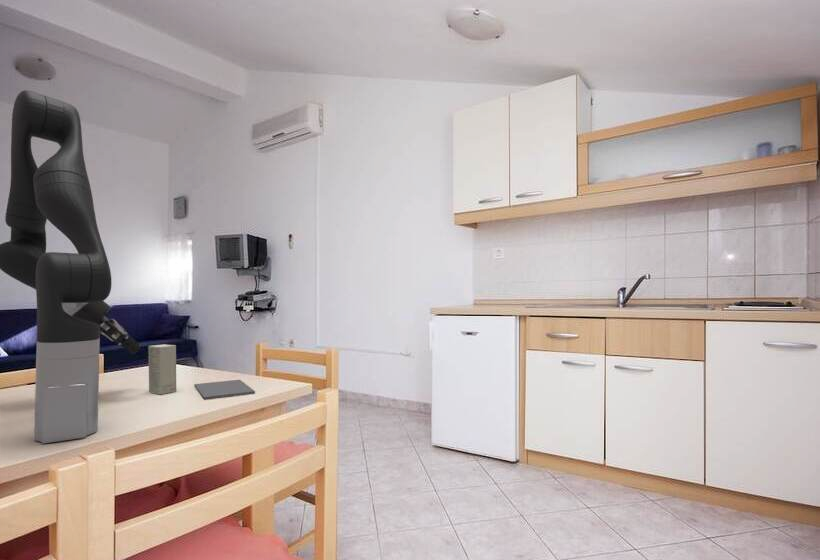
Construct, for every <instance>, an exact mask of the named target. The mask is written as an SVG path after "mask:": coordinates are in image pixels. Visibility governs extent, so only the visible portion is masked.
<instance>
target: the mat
mask: <svg viewBox="0 0 820 560" xmlns="http://www.w3.org/2000/svg"><path fill="white" fill-rule="evenodd" d="M193 385H194V388H195V389H196V390H197V392H198V394H199V395H200V396H201V397H202V399H203V400H204V401H205V400H212V399H213V400H214V399H222V398H230V397H231V398H232V397H236V396H237V397H238V396H245V395H255V394H256V391H255V390H254V389H253V388H252V387H250V386H249V385H248V384H246V383H245V382H243V380H241V379H231V380H224V381H223V380H222V381H214V382H202V383H195V384H193Z"/></svg>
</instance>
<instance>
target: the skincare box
mask: <svg viewBox="0 0 820 560" xmlns="http://www.w3.org/2000/svg"><path fill="white" fill-rule="evenodd" d="M148 392H149V393H152V394H157V395H166V394H171V393H174V392H175V393H176V392H177V345H176V344H166V343H164V344H155V345H148Z"/></svg>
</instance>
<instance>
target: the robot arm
mask: <svg viewBox="0 0 820 560" xmlns="http://www.w3.org/2000/svg"><path fill="white" fill-rule="evenodd" d="M11 115H12V116H11V134H10V135H11V136H10V137H11V138H10V139H11V140H10V186H9V194H8V199H7V204H6V211H5V217H4V218H5V221H4V222H5V224H6V225H7V226H8V227H9V228H10V239H9V241H5V242H2V243H0V270H1V271H2V272H3V273H4V274H6V275H7V276H9V277H11V278H13V279H14V280H16V281H18V282H20V283H22V284H23V285H25V286H27V287H30V288H32V289H34V290H35V293H36V351H35V352H36V354H35V357H36V358H35V390H34V391H35V392H34V393H35V394H34V434H33V435H34V436H33V437H34V438H33V440H34V441H36V442H41V444H42V445H43V444H49V443H55V442H56V443H57V442H62V441H69V440H75V439H76V440H78V439H85V438H87V437H88V436H89V435H92V434H94V433H96V432H97V431H98V430H99V396H100V395H99V393H100V392H99V391H100V390H99V389H100V388H99V385H100V383H99V381H100V376H99V375H100V346H101V344H100V342H101V341H100V340H101V339H100V338H101V335H103V336H105V337H106V338H107V339H109V340H110V341H112V342H114V344H116V345H119V346H121V347H123V349H125V350H126V351H128V352H129V353H130V354H131V355H136V354H137V353H138V352H139V351H140V350H141V347H140V343H139V342H137V341H136V340H135V339H134V338H132V337H131V336H130V335H129V334H128V332H127V331H126V330H125V328H124V327H123V326H122V325H120V324H119V323H118V321H117V320H115V319H114V318H110V317H106V316H105V314H107V313H108V312H109V311H110V310H111V306H110V305H109V304H108V303H107V302H106V301H105V300H107V298H109V296H110V295H111V294H110V293H111V291H112V273H111V268H110V264H109V260H108V256H107V253H106V250H105V247H104V244H103V241H102V238H101V234H100V231H99V228H98V224H97V218H96V212H95V204H94V199H93V194H92V189H91V183H90V179H89V175H88V171H87V168H86V167H87V166H86V161H85V156H84V150H83V149H84V148H83V136H82V134H83V133H82V132H83V131H82V124H81V117H80V113H79V111H78V109H77V108H76V107H75V106H74V105H72V104H69V103H68V102H66V101H63V100H59V99H57V98H54V97H50V96H47V95H44V94H42V93H38V92H35V91H32V90H27V89H26V90H21V91H20V92H19V93H18V94H17V96H16V98H15V100H14V103H13V108H12V114H11ZM32 137H33V138H39V139H41V140H46V141H50V142H53V143H56V144H58V146H59V147H60V148H59V149H58V150H57V151H56V152H55V153H54V154H53V155H52V156H50V157H49V158H48V159H47V160H45V161H44V162H43V163H42V164H40V166H38V165H37V162H36V160H35V159H34V155H33V151H32ZM47 221H48V222H49V223H50V224H51V225H53V226H54V227H55V228H56V229H57V230H59V232H60V233H62V234H63V235H64V236H65V237H66V238H67V239H68V240H69V241H70V242H71V243H72V245H73V246H74V248H75V249H76V251H77V252H76V253H72V252H53V251H52V252H47V233H46V226H47V225H46V224H47Z"/></svg>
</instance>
